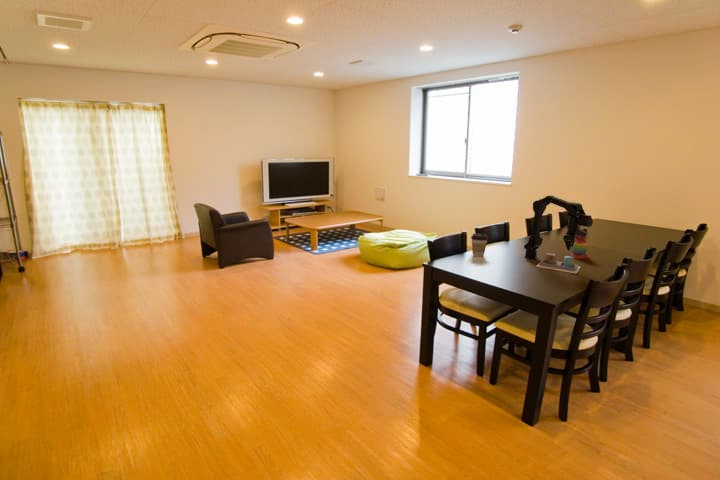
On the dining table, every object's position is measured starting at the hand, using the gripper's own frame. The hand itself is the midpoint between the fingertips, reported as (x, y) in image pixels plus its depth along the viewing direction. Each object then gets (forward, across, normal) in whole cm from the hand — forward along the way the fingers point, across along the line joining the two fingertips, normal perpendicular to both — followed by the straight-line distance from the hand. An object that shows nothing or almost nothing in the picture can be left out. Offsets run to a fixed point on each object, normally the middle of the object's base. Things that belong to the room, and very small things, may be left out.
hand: (570, 248), depth 250 cm
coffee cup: (+13, -6, +55) cm, 57 cm away
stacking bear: (+13, +34, -1) cm, 36 cm away
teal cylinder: (+12, 0, 0) cm, 12 cm away
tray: (+13, 0, +5) cm, 14 cm away
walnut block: (+12, 0, +10) cm, 16 cm away
